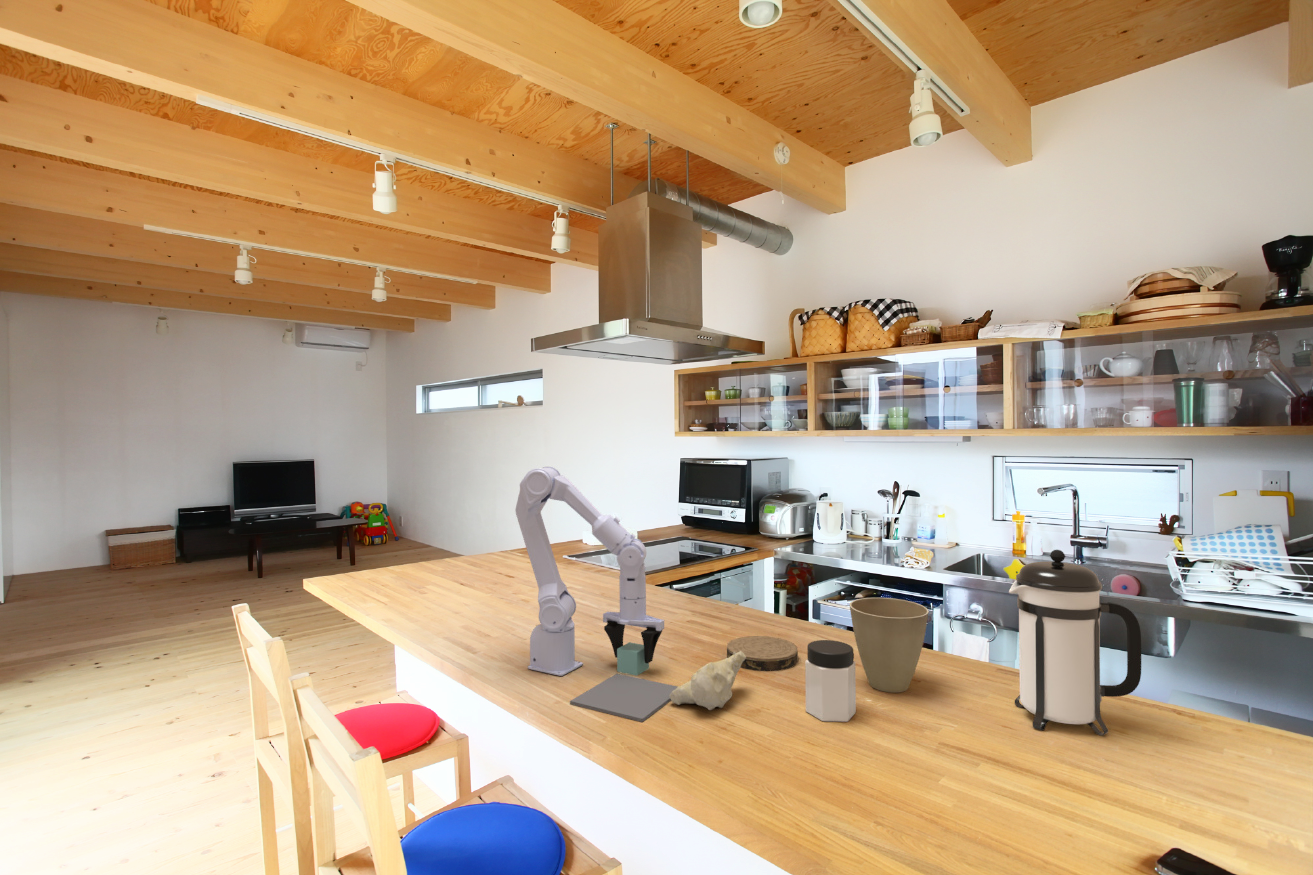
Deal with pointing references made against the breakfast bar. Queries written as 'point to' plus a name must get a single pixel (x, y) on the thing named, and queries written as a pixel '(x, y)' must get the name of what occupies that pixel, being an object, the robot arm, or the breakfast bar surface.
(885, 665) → the plant pot
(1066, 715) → the coffee press
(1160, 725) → the breakfast bar surface
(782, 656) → the round wood slice
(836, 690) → the jar
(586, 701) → the mat
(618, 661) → the block
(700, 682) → the conch shell
